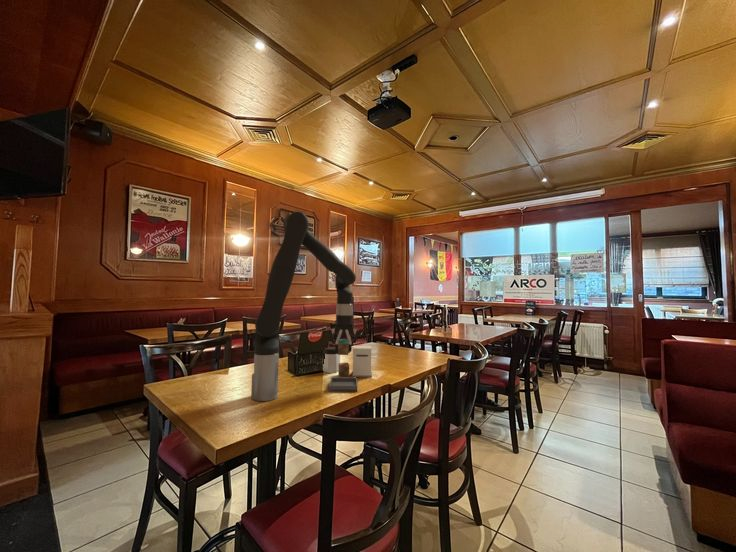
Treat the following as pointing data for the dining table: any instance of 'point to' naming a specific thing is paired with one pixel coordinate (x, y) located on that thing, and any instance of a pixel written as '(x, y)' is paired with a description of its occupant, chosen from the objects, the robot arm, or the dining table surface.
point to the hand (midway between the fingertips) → (343, 352)
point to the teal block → (343, 347)
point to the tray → (343, 385)
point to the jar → (331, 360)
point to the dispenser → (361, 361)
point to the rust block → (343, 369)
